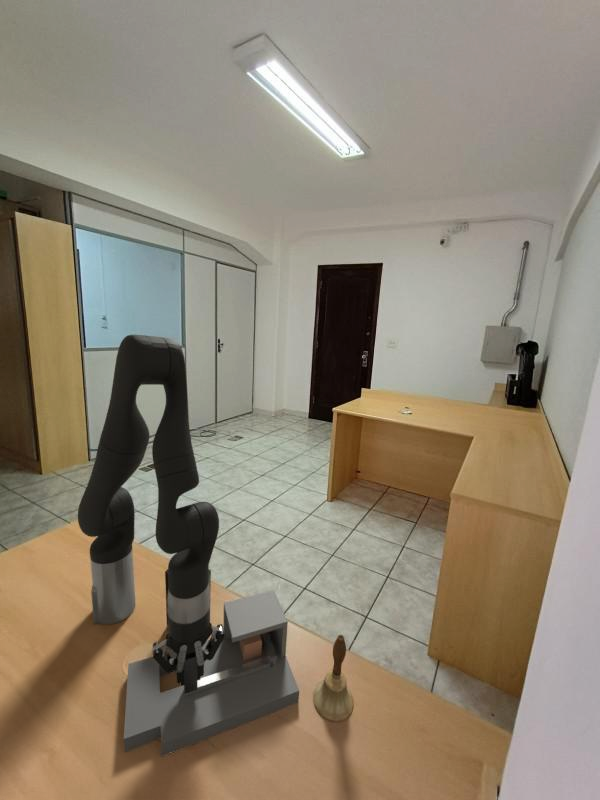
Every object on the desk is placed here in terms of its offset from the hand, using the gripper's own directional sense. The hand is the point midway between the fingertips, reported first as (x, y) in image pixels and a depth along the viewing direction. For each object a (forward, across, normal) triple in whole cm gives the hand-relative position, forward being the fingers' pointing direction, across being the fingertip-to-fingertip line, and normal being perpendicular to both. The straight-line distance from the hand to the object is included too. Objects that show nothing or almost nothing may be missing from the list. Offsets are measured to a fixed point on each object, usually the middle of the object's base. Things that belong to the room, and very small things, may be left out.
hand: (190, 678), depth 69 cm
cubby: (+6, -4, -1) cm, 7 cm away
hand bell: (+6, -27, +10) cm, 30 cm away
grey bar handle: (+3, -8, -3) cm, 9 cm away
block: (+3, -13, -4) cm, 14 cm away
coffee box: (+6, -1, -18) cm, 19 cm away
